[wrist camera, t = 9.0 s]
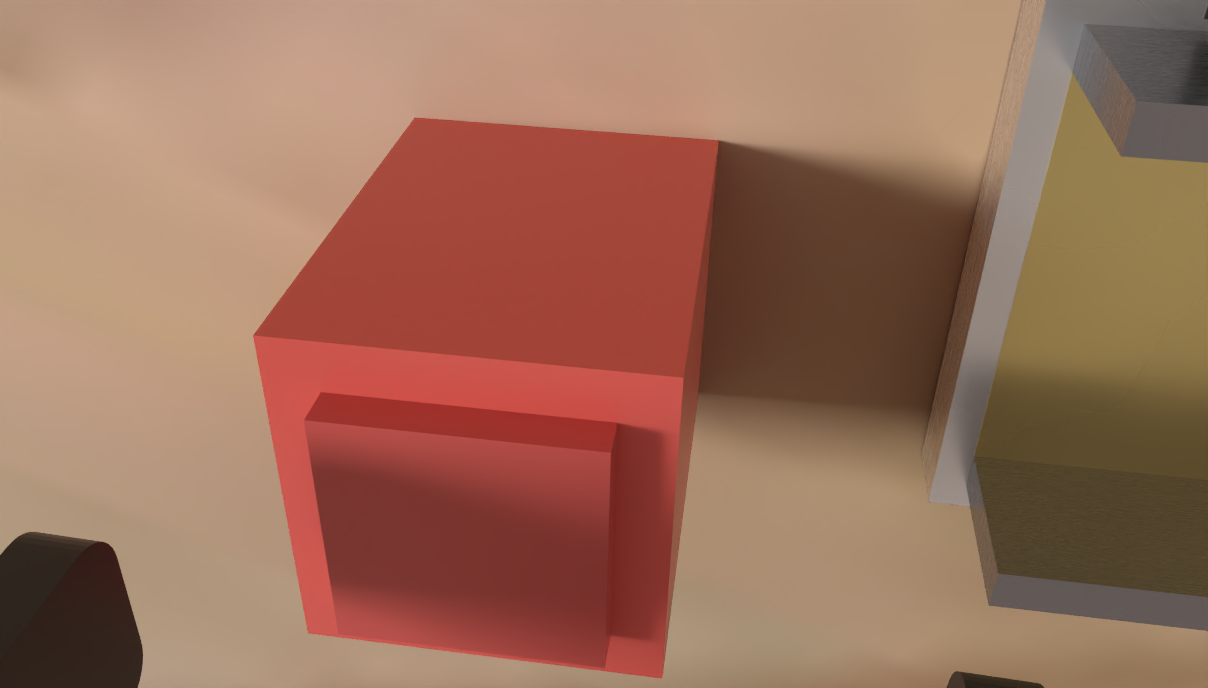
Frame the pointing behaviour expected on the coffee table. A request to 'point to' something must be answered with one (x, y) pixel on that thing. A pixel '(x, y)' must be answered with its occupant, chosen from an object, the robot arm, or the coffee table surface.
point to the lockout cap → (498, 394)
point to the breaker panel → (1087, 321)
